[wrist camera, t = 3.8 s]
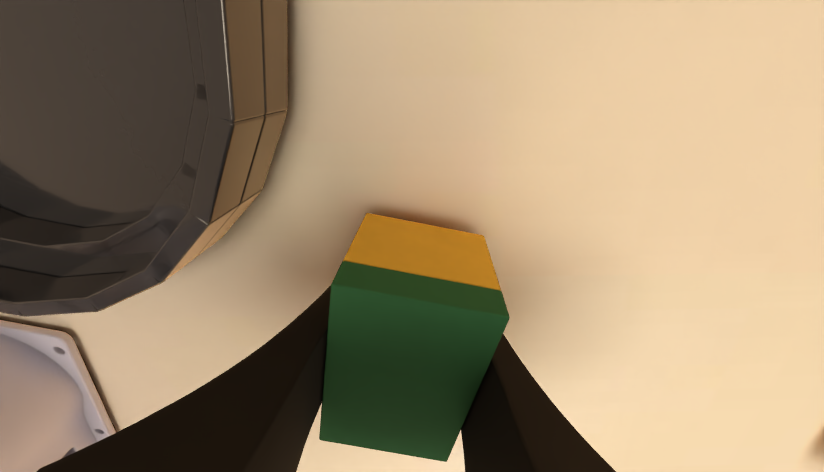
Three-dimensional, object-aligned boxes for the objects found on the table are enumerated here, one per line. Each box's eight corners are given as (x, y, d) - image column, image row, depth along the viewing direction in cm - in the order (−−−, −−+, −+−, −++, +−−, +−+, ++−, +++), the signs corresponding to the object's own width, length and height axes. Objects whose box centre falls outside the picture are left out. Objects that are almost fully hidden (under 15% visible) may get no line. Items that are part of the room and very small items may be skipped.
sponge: (443, 358, 13) (446, 462, 10) (350, 341, 13) (318, 440, 9) (484, 234, 10) (510, 317, 7) (366, 212, 10) (330, 283, 7)
